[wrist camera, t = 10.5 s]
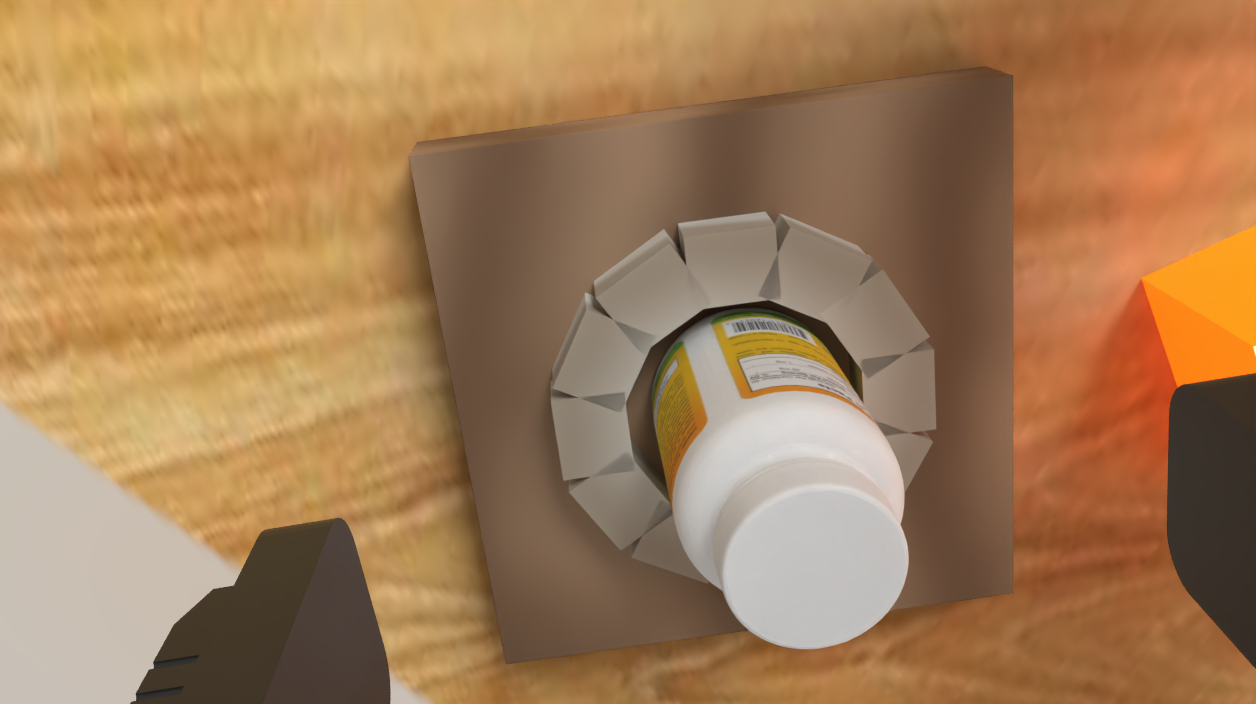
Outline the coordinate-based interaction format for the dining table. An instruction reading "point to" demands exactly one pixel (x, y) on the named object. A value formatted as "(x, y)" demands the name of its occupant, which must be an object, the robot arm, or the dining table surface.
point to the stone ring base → (707, 284)
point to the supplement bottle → (779, 479)
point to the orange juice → (1208, 310)
